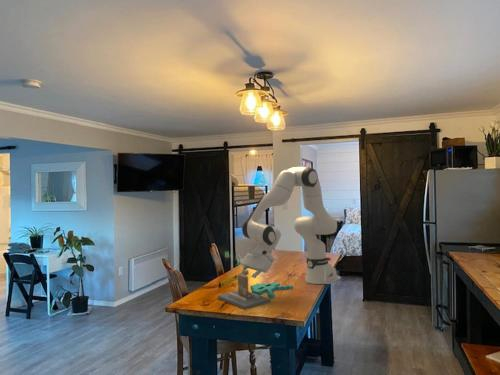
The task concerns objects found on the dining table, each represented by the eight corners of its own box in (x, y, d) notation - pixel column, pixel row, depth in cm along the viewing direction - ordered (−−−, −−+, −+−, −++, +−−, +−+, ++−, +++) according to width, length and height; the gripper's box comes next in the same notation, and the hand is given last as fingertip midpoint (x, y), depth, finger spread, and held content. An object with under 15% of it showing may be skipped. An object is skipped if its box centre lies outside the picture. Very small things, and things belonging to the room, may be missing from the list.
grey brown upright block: (244, 294, 189) (243, 274, 189) (250, 297, 185) (249, 275, 185) (236, 296, 186) (235, 275, 186) (242, 299, 182) (241, 277, 182)
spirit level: (221, 288, 210) (220, 282, 210) (219, 287, 211) (218, 282, 211) (248, 274, 240) (248, 270, 240) (246, 274, 240) (246, 269, 240)
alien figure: (293, 289, 202) (264, 284, 215) (293, 285, 202) (264, 280, 215) (272, 299, 187) (243, 292, 200) (272, 294, 187) (242, 288, 199)
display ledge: (242, 291, 200) (242, 286, 200) (270, 301, 181) (270, 295, 181) (217, 298, 190) (217, 292, 190) (245, 309, 171) (244, 303, 171)
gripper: (246, 248, 201) (232, 268, 195) (270, 253, 185) (256, 275, 179) (252, 254, 204) (239, 275, 198) (277, 260, 187) (263, 282, 182)
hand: (247, 275), depth 188 cm, fingers open, 8 cm apart
